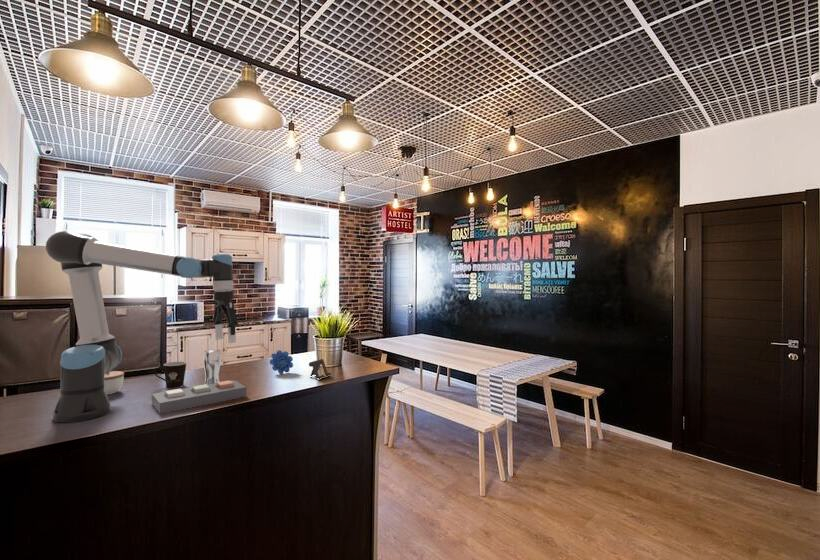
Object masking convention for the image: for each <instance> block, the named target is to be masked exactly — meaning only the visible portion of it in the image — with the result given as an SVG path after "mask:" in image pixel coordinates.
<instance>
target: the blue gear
mask: <svg viewBox="0 0 820 560" xmlns="http://www.w3.org/2000/svg"><path fill="white" fill-rule="evenodd" d="M270 356H271V359H270V360H269V364H270V365H271V366H272V367H271V369H272V371H274V372H276V371H277V372H278V374H280V373H282V374H284V372H285V373H287V372H288V373H289V372H290V371H291V370H290V369H291V368H293V367H294V363H293V356H291V355H289V352H288V351H282V350H280V349H279V350H277V351H276V353H275V352H273V353H272V354H271V355H270Z"/></svg>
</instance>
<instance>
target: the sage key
mask: <svg viewBox="0 0 820 560" xmlns="http://www.w3.org/2000/svg"><path fill="white" fill-rule="evenodd" d="M191 387H192V392H193V393H194V394H195V393H201V392H206V391H210V387H209V386H208V385H206V384H205V385H204V384H200V385H194V386H191Z"/></svg>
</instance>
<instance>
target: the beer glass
mask: <svg viewBox="0 0 820 560" xmlns="http://www.w3.org/2000/svg"><path fill="white" fill-rule="evenodd" d="M221 358H222V355H221V350H220V349H207V350H204V351H203V369H204V375H205V379H204V384H203V385H205V384H206V385H208V384H214V383H217V382H220V377H219V374H220V368H221V361H222V359H221Z"/></svg>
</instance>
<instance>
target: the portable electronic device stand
mask: <svg viewBox="0 0 820 560" xmlns="http://www.w3.org/2000/svg"><path fill="white" fill-rule="evenodd" d="M308 366H309V367H310V368H311V367H312V370H311V372H310V375H309V377H310V376H312V375H313V376H314V375H316V376H315V379H316V378H319V379H320V378H322V377H325V375H326V376H328V375H331V376H332V372H328V368H327V366H326V363H325V361H324V359H323V358H320V359H317V360H313V361H310V362H309V363H308ZM320 366H322V369H323V373H324V374H322V375H320V374H319V369H320ZM313 376H312V377H313Z"/></svg>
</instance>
